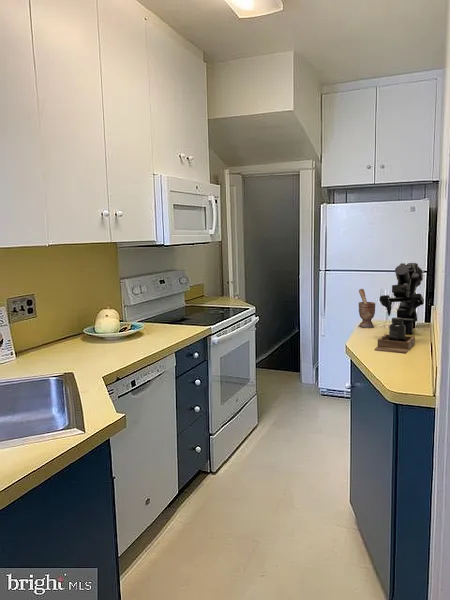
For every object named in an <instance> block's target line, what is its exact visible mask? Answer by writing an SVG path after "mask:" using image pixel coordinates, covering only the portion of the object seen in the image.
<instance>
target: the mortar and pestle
mask: <svg viewBox="0 0 450 600" xmlns="http://www.w3.org/2000/svg"><path fill="white" fill-rule="evenodd" d="M358 293H359V295H360V298H361V300H362V301H361V302H358V313H359V317H360V318H361V319H362V320H361V322H360V324H359V327H360V328H365V329H371V328H374V327H375V325H374V323H373V322H372V319H374V316H375V314H376V302H373V301H367V298H366V293H365V289H364V288H360V289H359V290H358Z"/></svg>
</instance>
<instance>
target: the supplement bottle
mask: <svg viewBox="0 0 450 600" xmlns="http://www.w3.org/2000/svg"><path fill="white" fill-rule="evenodd" d="M405 330H406V327H405V325H404V324H403V318H397V317H392V318H391V324H389V325H388V334H389V340H390V341H401V342H405V336H406V334H405Z"/></svg>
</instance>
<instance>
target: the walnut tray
mask: <svg viewBox="0 0 450 600" xmlns="http://www.w3.org/2000/svg"><path fill="white" fill-rule="evenodd" d="M415 341H416V337H415V336H412V335H411V336H410V335H405V342H401V341H390V340H389V333H388V334H387V333H385V334H383V335H382V336H381V337H379V338H378V339H377V346H376V347H375V348H374V351H376V352H379V351H380V352H387V353H389V352H390V353H397V354H407V353H408V352H409V351H410V350H411V349H412V348H413V347H414V346H415V344H416V342H415Z"/></svg>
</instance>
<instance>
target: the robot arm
mask: <svg viewBox="0 0 450 600" xmlns="http://www.w3.org/2000/svg"><path fill="white" fill-rule="evenodd" d="M394 271H395V272H394V273H395V277H396V281H397V284H393V285H391V293H393V297H390V295H389V294H385V295H384V294H382V295H381V296H379V302H380V303H381V305H382V307H385V308H386V313H387V315H388V317H390V316H391V313H392V307H393V306H392V304H393V303H399V305H398V308H397V309H396V318H403V324H404V325H405V327H406V330H405V335H413V334H414V333H415V332H416V331H414V330H413V329H414V323H417V322H418V312H417V310H416V309H417V308H419V307H421V306H423V305H424V304H425V303H424V302H425V300H424V299H425V298H424V297H423V295H422V293H416V290H417V287H419V286H421V284H422V281H424V280H423V279H424V274H423V269H422V268H421V267H419V264H418V263H416V262H409V263H407V264H406V263H402V262H401V263H400V264H399V265H397V266H396V267H395V269H394ZM410 277H411V278H410ZM409 290H410V291H409Z"/></svg>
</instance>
